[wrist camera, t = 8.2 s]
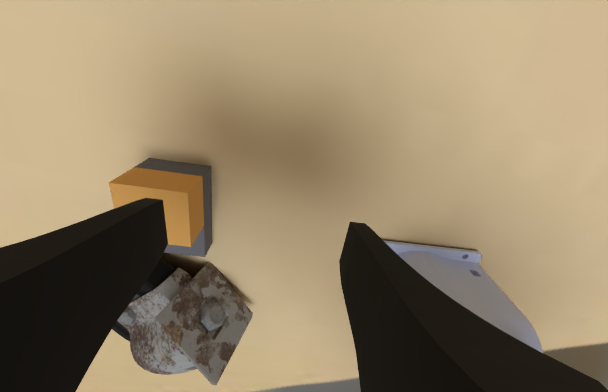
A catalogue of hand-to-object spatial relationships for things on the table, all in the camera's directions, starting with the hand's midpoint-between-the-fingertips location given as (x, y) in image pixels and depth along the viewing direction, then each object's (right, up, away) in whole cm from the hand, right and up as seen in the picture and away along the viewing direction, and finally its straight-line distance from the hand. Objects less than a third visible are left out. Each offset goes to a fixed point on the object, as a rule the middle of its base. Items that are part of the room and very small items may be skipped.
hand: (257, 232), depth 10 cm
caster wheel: (-10, -7, +14) cm, 19 cm away
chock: (-8, +1, +10) cm, 13 cm away
